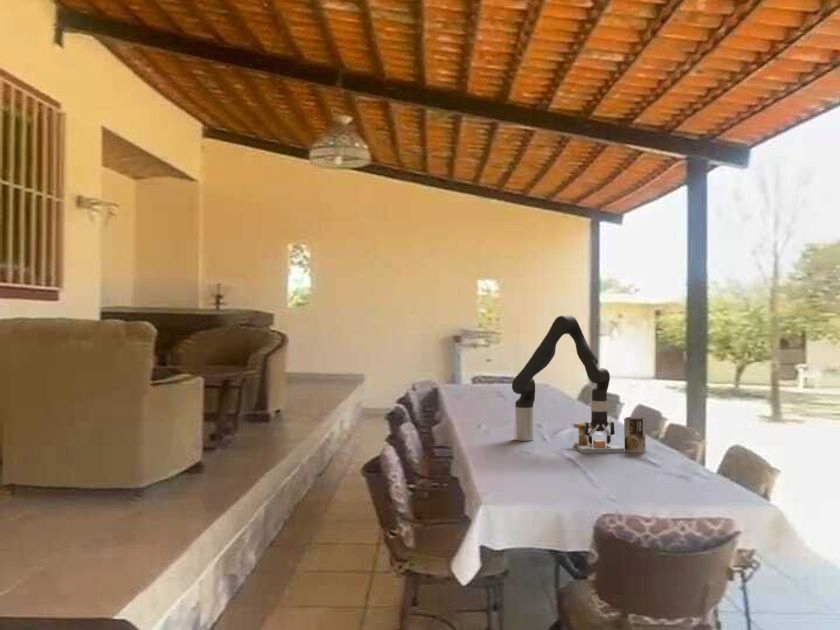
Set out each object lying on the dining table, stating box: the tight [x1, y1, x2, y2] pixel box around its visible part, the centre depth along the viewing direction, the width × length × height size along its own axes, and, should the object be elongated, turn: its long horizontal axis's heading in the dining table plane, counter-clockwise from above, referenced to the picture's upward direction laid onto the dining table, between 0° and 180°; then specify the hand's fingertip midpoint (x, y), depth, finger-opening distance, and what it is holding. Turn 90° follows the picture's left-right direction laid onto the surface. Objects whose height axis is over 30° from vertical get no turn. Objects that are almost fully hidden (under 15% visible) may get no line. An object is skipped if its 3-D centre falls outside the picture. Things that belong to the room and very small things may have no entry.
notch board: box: [576, 444, 625, 454], centre depth 418 cm, size 20×10×2 cm, turn 96°
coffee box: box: [623, 416, 647, 454], centre depth 416 cm, size 9×6×16 cm
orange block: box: [592, 439, 606, 448], centre depth 419 cm, size 4×4×5 cm
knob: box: [573, 422, 593, 448], centre depth 432 cm, size 9×9×11 cm
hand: (599, 443), depth 419 cm, fingers open, 8 cm apart
